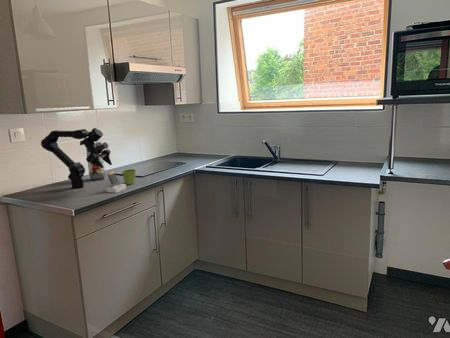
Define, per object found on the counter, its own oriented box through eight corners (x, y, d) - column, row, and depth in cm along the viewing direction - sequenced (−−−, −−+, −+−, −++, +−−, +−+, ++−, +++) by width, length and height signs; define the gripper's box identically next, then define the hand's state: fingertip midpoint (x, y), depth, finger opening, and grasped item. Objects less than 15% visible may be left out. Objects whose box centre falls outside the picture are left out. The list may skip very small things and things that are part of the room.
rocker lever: (111, 186, 209) (106, 173, 209) (117, 184, 214) (112, 171, 214) (114, 186, 209) (108, 172, 208) (119, 183, 214) (114, 171, 213)
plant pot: (125, 186, 221) (124, 172, 220) (120, 183, 229) (119, 170, 227) (139, 183, 227) (138, 170, 225) (134, 181, 234) (132, 168, 232)
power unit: (106, 191, 209) (106, 185, 208) (116, 187, 218) (116, 181, 217) (116, 192, 206) (115, 185, 206) (126, 188, 216) (125, 181, 215)
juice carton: (89, 178, 246) (85, 140, 240) (105, 177, 249) (101, 139, 244) (89, 181, 238) (85, 142, 232) (105, 179, 241) (101, 141, 236)
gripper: (90, 140, 202) (107, 161, 202) (108, 136, 220) (123, 155, 220) (78, 151, 205) (95, 172, 206) (96, 147, 223) (112, 166, 223)
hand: (107, 166), depth 214 cm, fingers open, 9 cm apart
